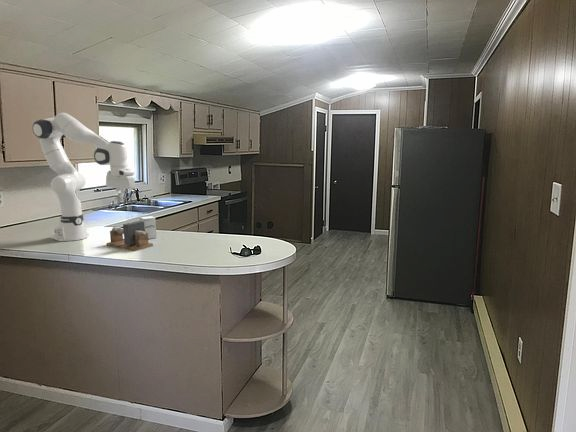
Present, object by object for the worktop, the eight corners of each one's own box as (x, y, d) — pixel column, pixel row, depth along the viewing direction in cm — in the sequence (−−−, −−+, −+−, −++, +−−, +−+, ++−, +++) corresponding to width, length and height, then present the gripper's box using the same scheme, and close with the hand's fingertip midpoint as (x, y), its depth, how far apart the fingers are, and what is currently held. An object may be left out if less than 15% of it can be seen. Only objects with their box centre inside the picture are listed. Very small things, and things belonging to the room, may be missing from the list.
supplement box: (144, 240, 269) (143, 218, 267) (140, 237, 275) (138, 217, 273) (157, 238, 273) (155, 217, 271) (152, 236, 279) (151, 215, 277)
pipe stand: (106, 245, 256) (105, 229, 255) (124, 241, 266) (122, 225, 265) (135, 250, 244) (134, 233, 242) (153, 246, 254) (151, 229, 252)
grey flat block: (124, 244, 248) (122, 224, 247) (140, 240, 258) (139, 220, 256) (129, 245, 246) (127, 225, 244) (145, 240, 256) (144, 221, 254)
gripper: (102, 170, 253) (104, 195, 256) (126, 172, 243) (128, 198, 245) (111, 170, 259) (113, 194, 261) (136, 171, 248) (137, 196, 251)
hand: (120, 196), depth 253 cm, fingers closed
